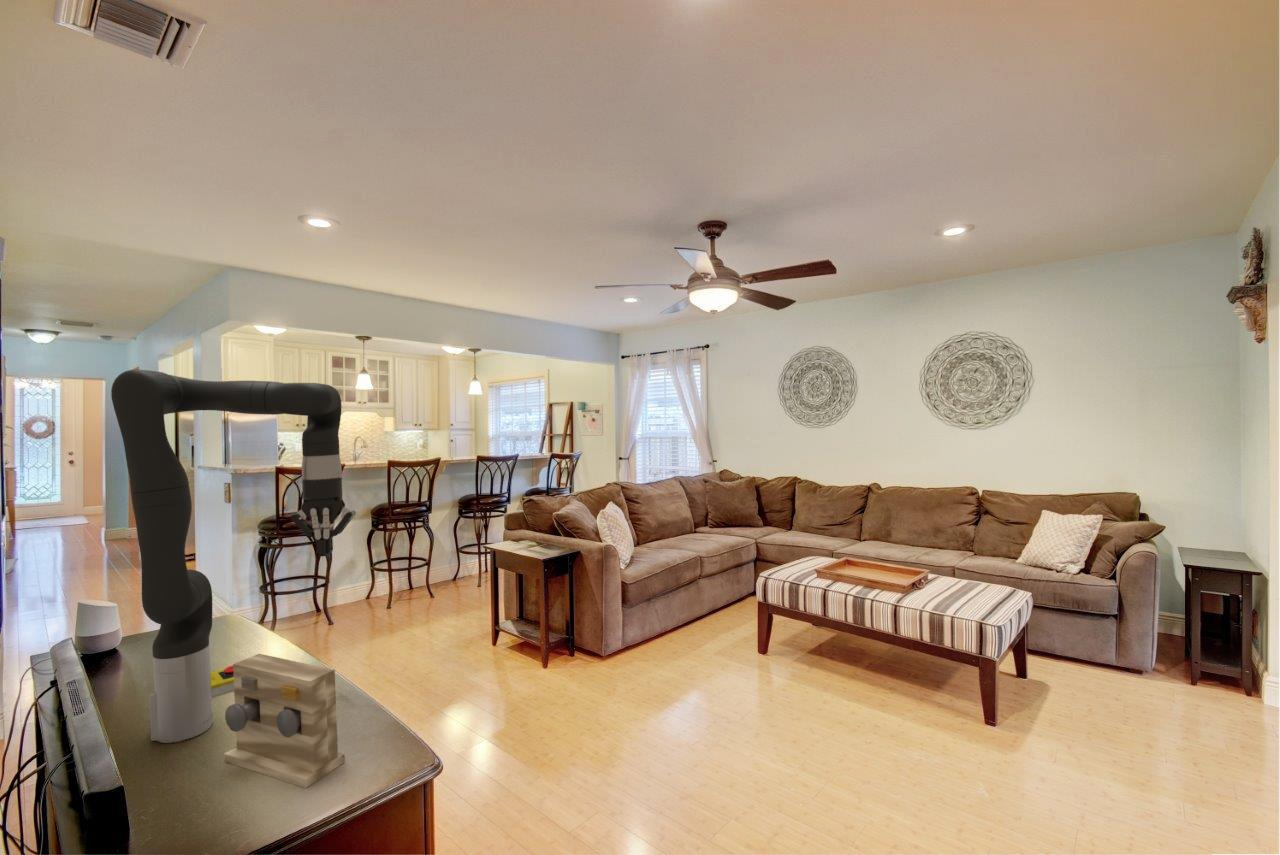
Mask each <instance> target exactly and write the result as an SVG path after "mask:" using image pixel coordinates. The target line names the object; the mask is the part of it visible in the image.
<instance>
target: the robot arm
mask: <svg viewBox="0 0 1280 855" xmlns="http://www.w3.org/2000/svg"><path fill="white" fill-rule="evenodd" d="M110 393H111V394H110V397H111V401H112V402H111V403H112V406H113V411H114V413H115V417H116V421H117V424H118V428H119V431H120V434H121V437H122V441H123V442H122V443H123V447H124V453H125V460H126V467H127V471H128V472H127V473H128V478H129V489H130V490H129V492H130V496H131V504H132V510H133V514H134V519H135V526H136V534H137V540H138V546H139V547H138V548H139V553H140V563H141V566H140V568H141V604H142V608H143V611H144V613H145V615H146V616H147V617H148V619H150V621H152V622H154V623H155V624H157V625H160V626H159V630H158V633H157V635H156V637H155V638H154V640H153V642H152V645H151V646H152V649H151V650H152V665H153V666H152V667H153V684H154V685H153V686H154V687H153V688H154V691H153V692H151V693H150V694H149V700H148V701H149V718H150V719H149V720H150V740H151V741H155V742H156V741H157V742H159V743H162V744H172V743H173V742H174V743H178V742H183V741H186V740H185V739H187V740H189V738H190V739H192V738H195V737H197V736H200V735H202V734H204V733H205V732H206V731H208V730H209V729H210V728H211V727H212V726H213V717H214V716H213V699H212V694H211V673H212V672H211V656H210V653H211V652H210V635H211V630H212V627H213V592H212V591H213V590H212V586H211V582H210V580H209V579H208V577H207V576H206V574H204V573H202V572H201V571H198V570H195V569H188V567H187V561H186V541H187V538H188V532H189V528H190V524H191V519H192V512H193V511H192V507H193V506H192V498H191V488H190V484H189V483H190V482H189V478H188V475H187V473H186V470H185V469H184V466H183V464H182V462H181V461H180V459H179V457H178V456H177V455H176V453H175V451H174V450H173V448H172V446H171V445H170V441H169V439H168V436H167V431H166V424H165V415H168V414H175V413H185V412H193V411H194V412H196V411H217V412H219V411H220V412H229V413H235V414H247V415H273V416H274V415H294V416H304V417H307V420H306V421H307V422H306V428H305V430H304V431H303V432H302V434H301V435H302V436H301V444H302V445H301V449H302V450H301V451H302V460H301V481H302V482H301V485H302V486H301V489H302V504H301V506H300V508H301V509H300V510H298V511H297V512H296V513H294V514H292V515H290V519H291V521H292V522H293V523H294V524H295V525H296V527H298V529H300V531H301V532H302V533H303V534H304V535H305V536H306V537H307V538H312V539H315V542H316V544H315V546H316V547H315V548H316V554H317V555H318V556H319V557H329V556H330V555H331V553H332V552H333V550H334V541H333V538H334V537H337V536H338V535H340V534H341V533H342V532H343V531H344V530H345V528H346V527H347V526H348V524H349V523H350V522H351V521H352V520H353V518H354V517H355V515H356V511H355V510H350V509H349V508H347V507H346V503H345V501H344V499H343V481H342V480H343V478H342V476H343V475H342V474H343V470H342V461H341V456H340V438H339V430H340V426H341V418H342V417H341V416H342V400H341V395H340V393H339V391H338V390H337V389H336V387H334V386H332V385H330V384H326V383H318V382H280V381H270V380H268V381H266V380H223V381H220V380H219V381H215V380H214V381H213V380H202V379H201V380H200V379H192V378H188V377H182V376H178V375H173V374H168V373H165V372H163V371H157V370H148V369H147V370H145V369H129V370H125V371H124V372H122V373H120V374H119V375H118V376H117V377H115V379H114V381H113V382H112V385H111V390H110ZM339 516H340V518H341V520H340V521H339V522H338V524H337V525H336V520H337V519H338V517H339ZM307 518H308V519H307ZM309 521H310V522H311V523H312V524H311V523H310V522H309ZM335 525H336V526H335ZM182 740H183V741H182ZM174 743H173V744H174Z"/></svg>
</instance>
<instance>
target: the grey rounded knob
mask: <svg viewBox="0 0 1280 855" xmlns="http://www.w3.org/2000/svg"><path fill="white" fill-rule="evenodd" d="M299 726H301V711H300V710H296V709H295V710H294V711H293V710H291V709H285V710H283V711H281V712H279V714H278V716H277V727H278V729H279V731H280V733H281V734H282V735H283V736H285V737H291V736H293V735H295V734H296V733H297V732H298V730H299Z"/></svg>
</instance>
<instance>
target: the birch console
mask: <svg viewBox="0 0 1280 855" xmlns="http://www.w3.org/2000/svg"><path fill="white" fill-rule="evenodd" d="M232 666H233V674H234V691H233V693H234V704H239V705H241V706H242V705H244V704H247V703H249V702H251V701H253V700H257V701H259V702H260V715H258V716H256V717H254V718H252V719H250V720H248V721H247V723H246V726H245V727H244V728H243V729H242V730H240V731H238V732H235V738H236V739H235V740H236V747H234V748H232V749H230V750H228V751H226V752H224V753H223V756H224V758H223V759H224V762H225V761H226V762H225V763H228V762H229V763H228V764H230V765H231V764H232V765H234V766H237V767H240V768H244V769H245V770H246V769H247V770H249V771H253V772H255V773H256V772H257V773H259V774H262V775H265V776H269V777H271V778H274V779H277V780H281V781H284V782H286V783H289V784H292V785H296V786H298V787H302V788H305V789H307V788H308V787H309V786H311V785H313V784H314V783H315V782H317V781H318V780H320V779H322V778H323V777H324V776H326V775H328V774H330V772H333V771H334V770H335V769H336V767H337V766H338V767H340V766H341V765H342V763H343V762H344V761H346V760H345V759H346V758H345V753H343V752H339V748H338V722H337V721H338V720H337V701H336V700H337V696H336V695H337V694H336V691H337V690H336V674H335V672H336V669H335V668H330V667H329V668H328V667H324V666H320V665H315V664H309V663H304V662H301V661H296V660H290V659H285V658H281V657H278V656H277V657H276V656H271V655H268V654H262V653H258V654H254V655H252V656H249V657H248V658H245V659H242V660H239V661H238V662H234V663H233V664H232ZM285 709H291V710H293V711H294V710H295V709H296V710H300V711H301V726H299V730H298V732H297V733H296V734H295V735H293V736H291V737H285V736H283V735H282V734H281V733H280V731H279V729H278V727H277V716H278V714H279V712H281V711H283V710H285ZM344 763H345V762H344ZM344 763H343V764H344ZM340 764H341V765H340ZM339 765H340V766H339ZM338 767H337V768H338Z"/></svg>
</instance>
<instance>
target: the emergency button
mask: <svg viewBox="0 0 1280 855" xmlns="http://www.w3.org/2000/svg"><path fill="white" fill-rule="evenodd" d="M232 692H234V674H233V665H230V666H228V667H226V668H223V669H219V670H216V671H212V672H211V694H212V698H215V697H219V696H222V695H225V694H229V693H232Z"/></svg>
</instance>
